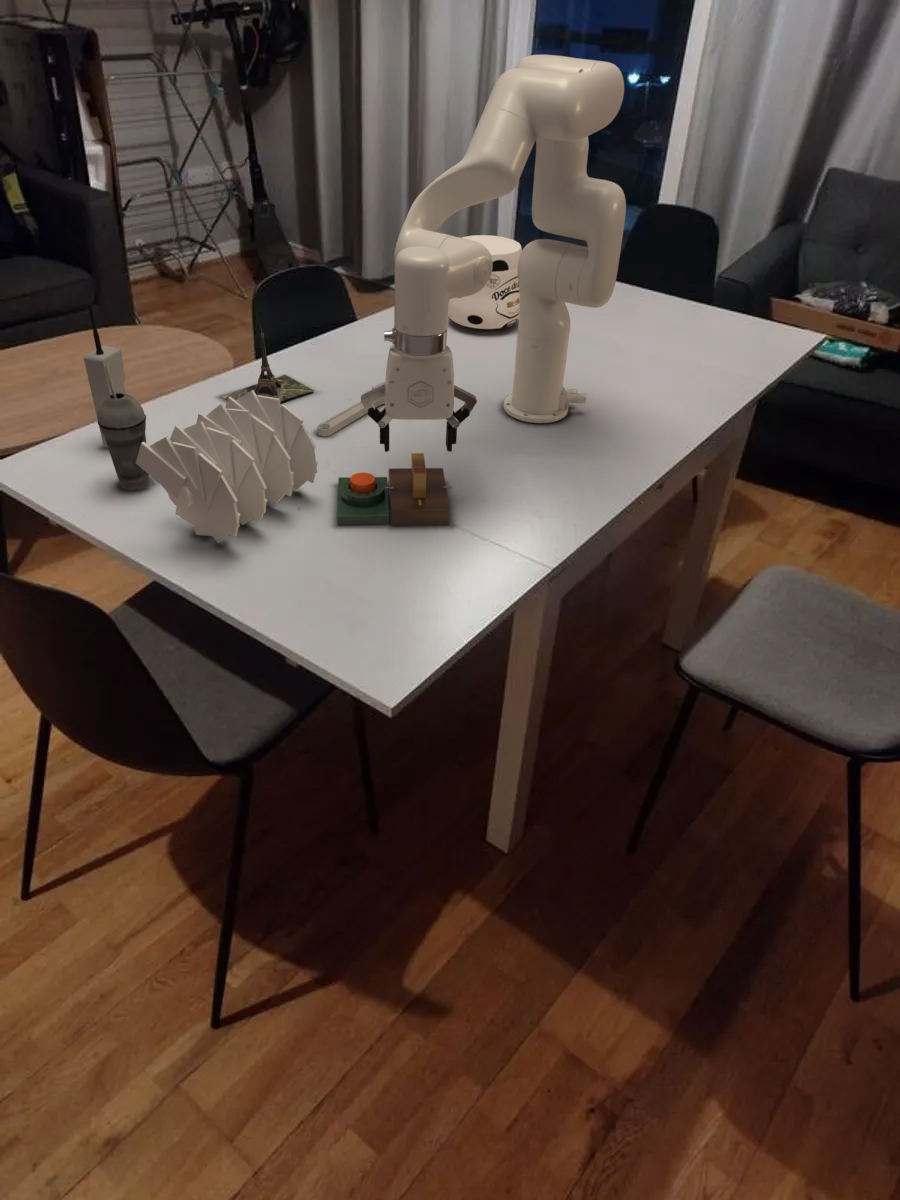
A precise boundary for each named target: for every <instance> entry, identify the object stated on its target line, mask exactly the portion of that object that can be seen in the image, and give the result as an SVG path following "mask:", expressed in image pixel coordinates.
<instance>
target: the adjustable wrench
mask: <svg viewBox="0 0 900 1200" xmlns="http://www.w3.org/2000/svg"><path fill="white" fill-rule="evenodd" d="M384 384H385V381H383V382H380V383H377V384H376V385H374V386H373V385H372V386H371V388H372V389H371V390H373V389H375V388H377V387H380V386H382V385H384ZM372 403H373V405H374V406H375V407H376V408H378V407H380V406H381V405H385V396H384V397H382V398H380V399H377V400H375V401H373V402H372ZM366 414H368V413H367V411H366V410H365V408H364V406H363V404H362V403H361V400H360V401H359V402H357V403H355V404H353V405H351V406H350V407H348V408H346V409H344V410H342V411H340V412H339V413H337V414H335V415H333V416H331V417H329V418H328V419H326V420H324V421H322V422H320V423H319V424H318V425H317V426H316V427H317V428H316V429H317V435H318V436H319V437H324V438H325V437H330V436H332V435H333V434H335V433H336V432H338V431H340V430H341V429H343V428H345V427H346V426H348V425H350V424H352V423H353V422H355V421H357V420H359V418H361V417H364V416H365V415H366Z"/></svg>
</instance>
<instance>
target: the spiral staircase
mask: <svg viewBox="0 0 900 1200" xmlns="http://www.w3.org/2000/svg"><path fill="white" fill-rule="evenodd" d="M317 448H318V447H317V446H316V444H315V442H314V440H313V438H312V437H311V435H310V433H309V431H308V429H307V428H306V426H305V424H304V419H303V418H302V417H300V416H299V415H298V414H297V413H296V412H295V411H293V410H292V409H290V408H289V407H288V406H286V405H285V404H281V401H280V399H278V398H272V397H266V396H261V395H258V396H257V395H256V394H255V392H254V390H252V391H250V392H248V393H247V394H245V395H243V396H242V397H240V398H239V399H237V400H236V401H235V400H234V399H233V398H232V397H228V400H226V403H225V405H224V403H223V402H222V403H220V404H219V405H217V406H216V407H215V408H214V409H212V410H211V411H210V412H209V413H208V414H206V415H205V413H203V412H198V413H197V418H196V423H195V424H192V425H190V426H187V427H185V428H182V427H181V426H180V424H176V425H175V426H174V428H173V430H172V433H171V435H170V436H169V435H167V436H164V437H163V438H161V439H159V440H158V441H156V442H154V443H152V444H151V445H149V444H147V442H146V443H145V442H142V443H141V446H140V449H139V453H138V457H137V460H136V464H137V465H138V466H140V467H141V468H142V469H143V470H144V471H146V472H147V473H148V474H149V477H151V478H153V480H154V481H156V482H157V483H158V484H160V485H161V487H162V488H163V489H164V491H165V492H166V493H167V495H168V498H169V499H170V501H171V502H172V504H173V505H174V506H175V515H176V516H178V517H180V519H182V520H184V521H186V522H187V523H188V524H190V525H191V526H193V527H192V528H193V529H194V532H195V535H196V536H204V537H205V536H207V537H213V538H214V540H215V541H216V542H217V543H218V544H219V543H220V542H222V541H223V540H224V539H226V538H227V537H228V536H230V535H231V536H233V537H234V538H235V537H237V536H238V531H239V528H240V527H241V526H244V525H246V524H247V523H248V522H250V521H252V520H254V519H256V520H257V521H258V522H261V521H263V519H264V514H266V513H267V504H268V501H269V502H271V503H272V505H273V506H277V505H278V504H279V503H280V501H281V500H282V499H283V498H284V497H285V496H288V497H292V495H293V489H294V491H298V490H299V489H300V488H301V487H302V486H303V485H305V483H306V482H309V483H310V484H313V483H314V482H315V477H316V474H317V473H318V468H317V467H318V463H319V461H318V460H316V449H317ZM240 525H241V526H240Z"/></svg>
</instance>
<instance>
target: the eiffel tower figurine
mask: <svg viewBox="0 0 900 1200" xmlns="http://www.w3.org/2000/svg"><path fill="white" fill-rule="evenodd" d="M260 340H261V342H260V343H261V364H260V365H261V366H260V374H259V375H258V376H259V377H258V378H257V383H256V384H252V385H250V386H246V387H245V388H241V389H238V390H236V391H233V392H230V393H228V394H225V395H223V396H221V398H222V399H224V400H226V401H227V400H228V397H232V398H233V399H234V400H235V401H236V400H237V399H239V398H240V397H242V396H243V395H245V394H247V393H248V392H250V391H252V390H254V392H255V394H256V395H257V396H258V395H261V396H266V397H272V398H278V399H280V402H283V401H286V400H289V399H291V398H295V397H299V396H302V395H306V394H310V393H312V392H315V390H314V389H312V388H310V387H308V386H307V385H305V384H303V383H302V382H299V381H298V380H296V379H294V378H292V377H290V376H289V375H287V374H282V375H279V376H277V377H275V374H273V372H272V370H271V367H270V365H271V364H270V363H269V361H268V355H267V349H266V344H265V334H264V332H263V327H262V326H261V333H260ZM265 373H266V374H265Z"/></svg>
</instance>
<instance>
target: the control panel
mask: <svg viewBox="0 0 900 1200" xmlns="http://www.w3.org/2000/svg"><path fill="white" fill-rule="evenodd" d="M452 488H453V487H452V486H451V485H449V486H447V483H446V479H445V473H444V468H443V467H426V498H413V493H412V483H411V467H409V468H408V467H407V468H405V467H404V468H403V467H402V468H401V467H400V468H388V487H385V489H388V495H389V511H390V526H391V527H419V526H420V527H429V526H430V527H431V526H433V527H436V526H450V512H451V510H450V502H449V496H448V491H447V489H452Z"/></svg>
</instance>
